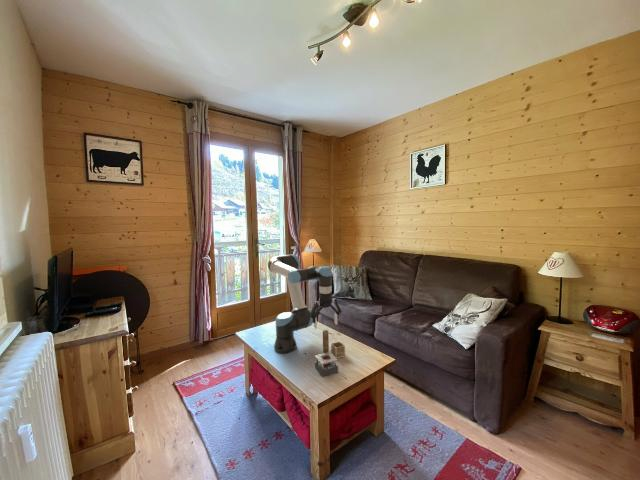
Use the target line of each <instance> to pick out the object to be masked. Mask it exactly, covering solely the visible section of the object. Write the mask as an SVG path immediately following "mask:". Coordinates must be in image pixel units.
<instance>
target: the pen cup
mask: <svg viewBox="0 0 640 480" xmlns="http://www.w3.org/2000/svg"><path fill="white" fill-rule="evenodd" d="M330 346H331V347H330V352H331V353H332V354H333V355H334V356H335V357H336V359H340V358H343V357H346V345H345V344H344V343H343V342H342V341H337V342H331V343H330Z"/></svg>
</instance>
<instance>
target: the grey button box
mask: <svg viewBox="0 0 640 480" xmlns="http://www.w3.org/2000/svg"><path fill="white" fill-rule="evenodd" d="M324 356H329V358H327V359H328V360H325V361H324V359H323V357H324ZM314 357H315V361H314V369H315V370H316V371H317V373H318V375H319V376H321V378H325V377H328V376H331V375H335V374H338V373H339V368H338V367H339V366H338V364H337V362H338V358H336V357H335V356H334V355H333V354H332V353H331V351H329V352H326V353H323V352H322V353H320V354H315V355H314ZM328 363H329V364H328ZM325 364H328V365H325Z"/></svg>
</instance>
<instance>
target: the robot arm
mask: <svg viewBox="0 0 640 480" xmlns="http://www.w3.org/2000/svg"><path fill="white" fill-rule="evenodd" d="M300 264H301V262H300V259H299V257H298V256H297V255H296V254H293V253H292V254H283V255H276V256H273V257H271V258H270V259H269V261H268V262H267V268H268V270H269V272H271V273H273V274H278V275H280V276H283V277H285V279H286V283H287V286H288V287H287V288H288V291H289V295H290V299H291V303H292V310H291V311H287V312H286V311H284V312H281V313H279V314H278V315H277V316H276V317H275V332H276V333H275V334H276V337H275V340H274V346H273V350H274V352H276V353H278V354H289V353H292V352H294V351H295V350H296V349H297V346H298V345H297V341H296V338H295V336H294V335H295V333H294V332H295V331H299V330H303V329H308V328H309V327H311V326H312V325H313V327H314V329H316V330H317V329H318V318H317V317H318V315H319V313H320V312H321V311H322V310H323V309H325V308H329V307H330V308H331V309H332V310H333V312H334V317H333V318H334V319H333V320H334V324H335V325H338V319H339V315H340V313H342V310H341V307H340V305H339V303H338V301H337V300H338V299H337V298H336V297H333V294H332V293H333V292H332V291H333V289H332V288H333V285H332V284H333V283H332V282H333V279H332V278H333V271H332V267H331V266H328V265H321V266H319V267H318V266H316V265H310V266H309V267H308V268H302V269H300V267H301V265H300ZM314 280H317V281H318V285H319V287H318V290H319V291H318V293H319V294H318V297H319V300H317V301H316V300H315V301H314V302H313V306H312V309H310V308H309V307H308V306H307V305H306V303H305V300H304V295H303V291H302V287H301V284H300V283H304V282H309V281H314ZM332 303H333V304H334V305H335V307H334V305H333V304H332Z"/></svg>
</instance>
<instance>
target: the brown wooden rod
mask: <svg viewBox="0 0 640 480" xmlns="http://www.w3.org/2000/svg"><path fill="white" fill-rule="evenodd" d="M329 334H330V333H329V330H328V329H327V330H326V329H324V330H322V354H323V353H326V352H330V344H329V343H330V341H329V337H330V336H329ZM327 358H329V356H324V357H322V359H327Z"/></svg>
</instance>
